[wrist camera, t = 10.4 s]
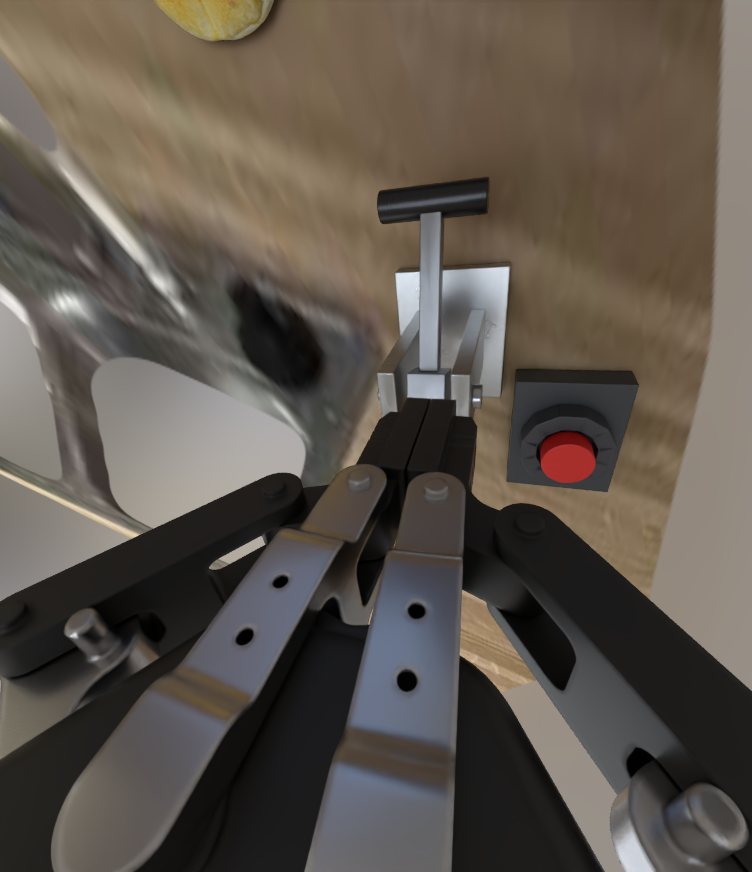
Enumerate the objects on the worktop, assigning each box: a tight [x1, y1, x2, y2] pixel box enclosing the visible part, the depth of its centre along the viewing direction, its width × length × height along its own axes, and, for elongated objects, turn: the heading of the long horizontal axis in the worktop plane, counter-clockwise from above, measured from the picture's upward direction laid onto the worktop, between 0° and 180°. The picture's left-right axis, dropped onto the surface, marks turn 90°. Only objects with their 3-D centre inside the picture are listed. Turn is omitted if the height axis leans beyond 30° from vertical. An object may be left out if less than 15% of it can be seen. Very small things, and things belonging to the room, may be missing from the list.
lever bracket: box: [377, 262, 511, 419], centre depth 26 cm, size 10×8×12 cm
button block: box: [507, 369, 639, 492], centre depth 31 cm, size 10×8×4 cm
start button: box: [540, 431, 596, 483], centre depth 29 cm, size 4×4×2 cm
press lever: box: [377, 177, 490, 400], centre depth 21 cm, size 12×6×2 cm, turn 7°
